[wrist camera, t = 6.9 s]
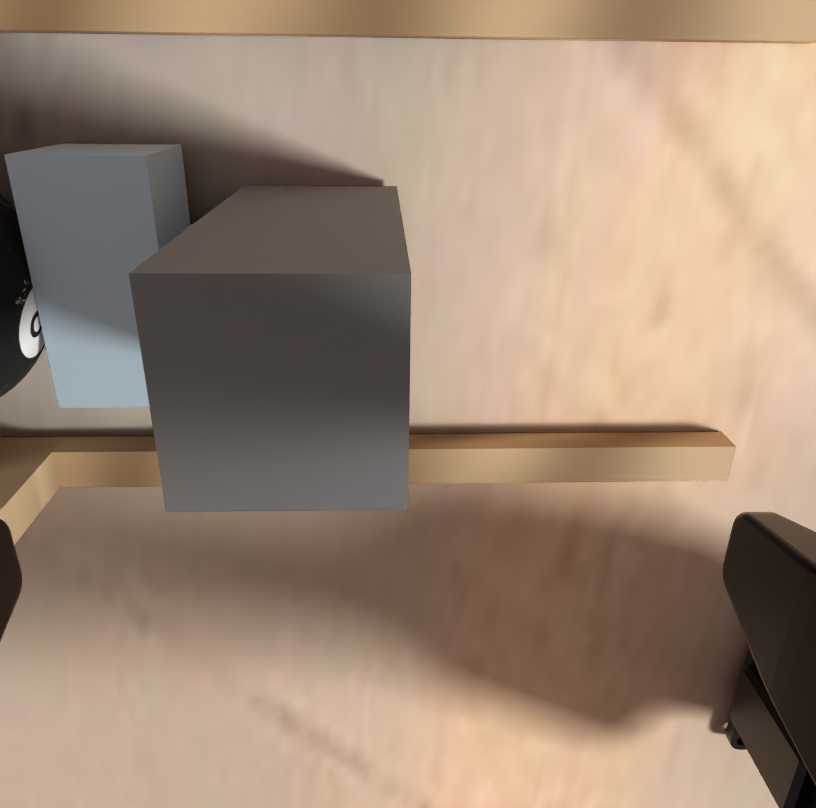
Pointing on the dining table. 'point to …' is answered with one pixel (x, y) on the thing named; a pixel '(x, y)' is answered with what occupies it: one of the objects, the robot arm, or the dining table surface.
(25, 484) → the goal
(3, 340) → the billiard ball
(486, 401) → the dining table surface
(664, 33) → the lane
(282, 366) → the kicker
